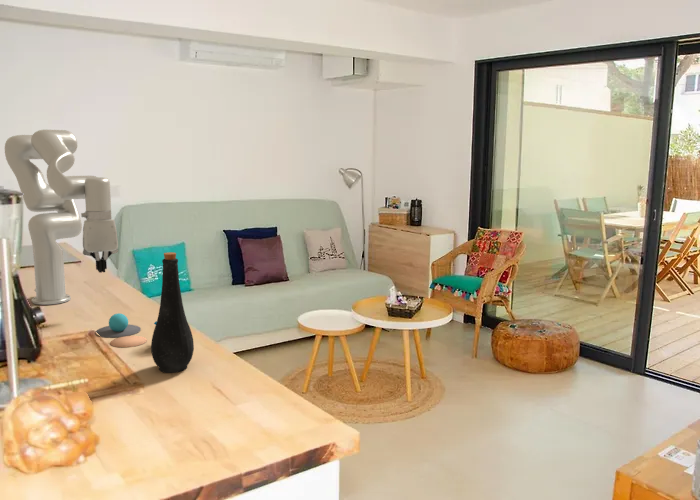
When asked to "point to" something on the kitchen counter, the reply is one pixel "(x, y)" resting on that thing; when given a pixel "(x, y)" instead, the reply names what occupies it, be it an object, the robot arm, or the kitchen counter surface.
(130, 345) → the far mark
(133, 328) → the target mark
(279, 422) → the kitchen counter surface
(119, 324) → the ball
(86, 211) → the robot arm
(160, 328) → the bottle
